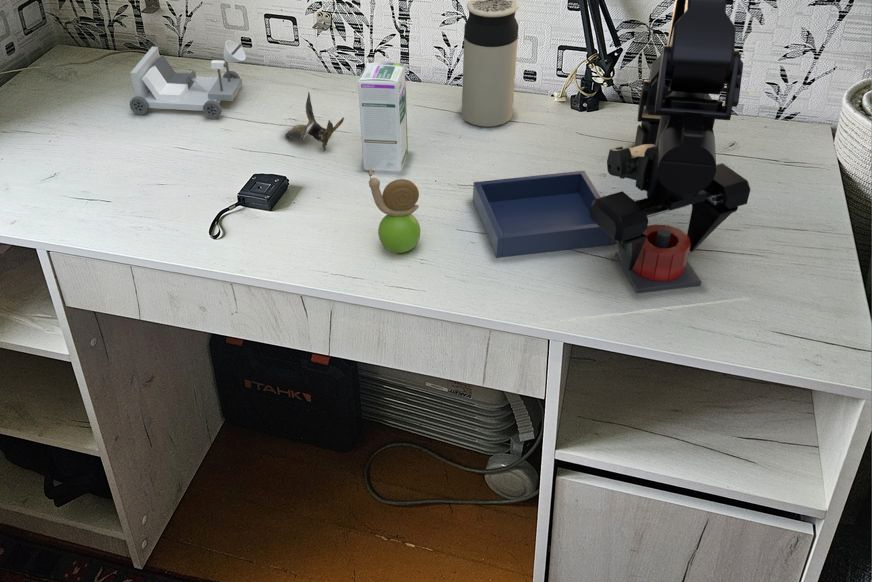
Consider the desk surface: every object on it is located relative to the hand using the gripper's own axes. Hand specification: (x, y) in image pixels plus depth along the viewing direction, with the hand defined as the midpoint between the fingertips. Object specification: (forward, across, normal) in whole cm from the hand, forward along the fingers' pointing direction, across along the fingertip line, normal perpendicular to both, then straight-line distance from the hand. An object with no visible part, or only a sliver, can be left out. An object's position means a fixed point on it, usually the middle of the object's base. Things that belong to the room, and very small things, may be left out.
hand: (658, 259), depth 115 cm
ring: (+1, 0, 0) cm, 1 cm away
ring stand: (+2, 0, 0) cm, 2 cm away
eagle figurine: (+2, +27, -51) cm, 57 cm away
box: (+2, +7, -15) cm, 17 cm away
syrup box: (+2, +19, -39) cm, 44 cm away
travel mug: (+2, -1, -45) cm, 45 cm away
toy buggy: (+2, +40, -72) cm, 82 cm away
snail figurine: (+2, +27, -19) cm, 33 cm away
